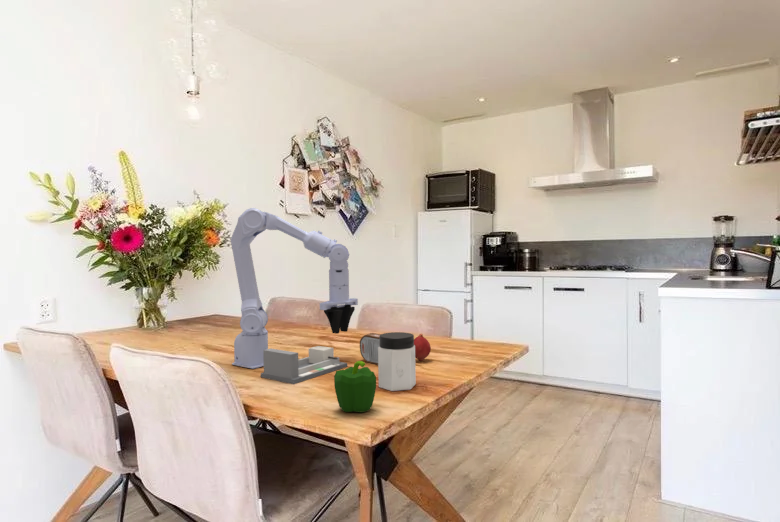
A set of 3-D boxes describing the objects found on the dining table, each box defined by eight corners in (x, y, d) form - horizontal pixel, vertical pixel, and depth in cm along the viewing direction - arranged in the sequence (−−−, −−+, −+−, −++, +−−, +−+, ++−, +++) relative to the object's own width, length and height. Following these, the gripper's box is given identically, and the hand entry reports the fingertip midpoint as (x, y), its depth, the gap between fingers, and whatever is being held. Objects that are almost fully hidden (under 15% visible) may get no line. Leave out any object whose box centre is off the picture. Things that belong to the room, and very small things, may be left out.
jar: (382, 392, 104) (381, 339, 103) (375, 382, 112) (374, 333, 111) (420, 389, 106) (419, 337, 105) (411, 379, 114) (410, 331, 113)
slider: (308, 362, 128) (308, 348, 128) (319, 359, 132) (319, 345, 131) (332, 366, 123) (331, 351, 123) (342, 363, 127) (342, 348, 127)
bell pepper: (330, 406, 95) (329, 357, 95) (368, 400, 98) (367, 353, 98) (341, 419, 87) (340, 366, 87) (382, 413, 90) (381, 362, 90)
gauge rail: (260, 377, 118) (260, 349, 118) (315, 361, 135) (315, 337, 135) (293, 384, 111) (293, 355, 111) (347, 366, 128) (346, 341, 128)
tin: (403, 367, 126) (402, 336, 126) (395, 370, 124) (394, 338, 124) (365, 359, 137) (365, 330, 136) (357, 361, 134) (357, 332, 134)
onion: (407, 362, 131) (407, 334, 131) (414, 358, 137) (414, 331, 137) (427, 364, 129) (427, 335, 129) (433, 359, 135) (433, 332, 134)
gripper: (332, 287, 126) (333, 337, 126) (365, 284, 138) (366, 329, 138) (313, 286, 130) (314, 335, 130) (347, 283, 142) (347, 327, 142)
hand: (339, 332), depth 134 cm, fingers open, 3 cm apart
